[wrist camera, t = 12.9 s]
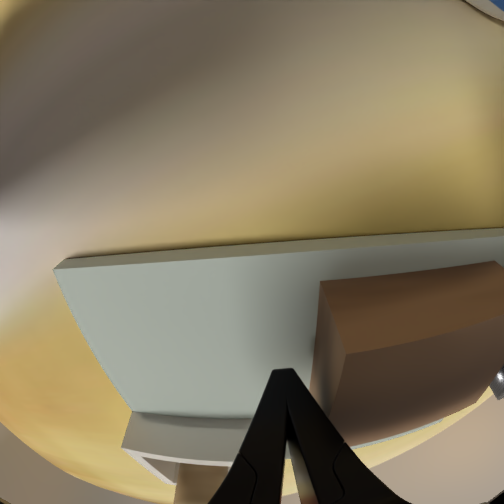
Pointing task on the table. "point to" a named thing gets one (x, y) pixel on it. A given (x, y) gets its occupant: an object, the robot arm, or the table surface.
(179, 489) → the dowel
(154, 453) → the tray
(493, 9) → the supplement tub
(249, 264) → the mat
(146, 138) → the table surface
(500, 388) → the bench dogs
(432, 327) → the cardboard brown brick
